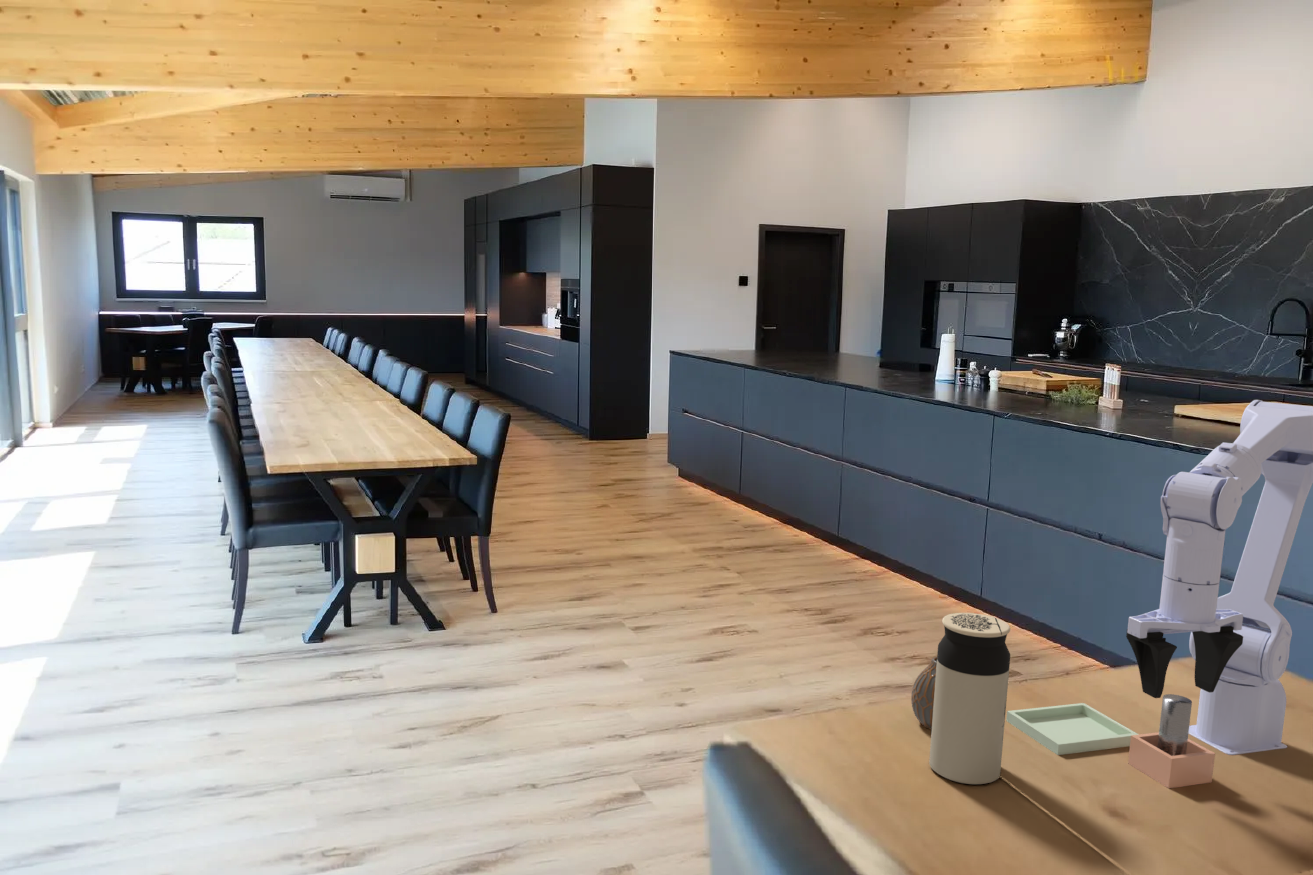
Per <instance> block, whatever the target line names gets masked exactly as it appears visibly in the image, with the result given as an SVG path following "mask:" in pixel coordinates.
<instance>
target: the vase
mask: <svg viewBox="0 0 1313 875" xmlns="http://www.w3.org/2000/svg"><path fill="white" fill-rule="evenodd" d="M936 666H937V656H935V657H932V659H931V661H930V662H929V664H928V665H927V666H926V667H925V668H924V669H923V670H922V671H921V672H920V673H919V674H918V675H917V677H916V679H915V680H914V683H913V685H912V689H911V707H912V711H913V714H914V717H915V718H916V719H917V720H918V721H919V723H920V724H921V725H922V726H923V727H925V728H926V729H929V730H932V719H933V706H934V693H935V679H936Z"/></svg>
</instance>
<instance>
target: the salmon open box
mask: <svg viewBox="0 0 1313 875" xmlns="http://www.w3.org/2000/svg"><path fill="white" fill-rule="evenodd" d="M1138 734H1139V735H1131V740H1130V746H1129V749H1128V750H1129V751H1128V760H1127V764H1128V765H1129V766H1131V767H1133V768H1134V769H1136V770H1138V771H1139V772H1141V773H1143V774H1144V775H1145V776H1147V777H1149V778H1150V779H1152V780H1153V781H1155V782H1157V783H1159V784H1160V785H1162V786H1164V787H1166V789H1175V788H1182V787H1189V786H1190V787H1191V786H1194V785H1195V786H1196V785H1202V784H1209V783H1212V782H1213V776H1214V769H1215V768H1214V767H1215V766H1214V765H1215V759H1216V758H1215V757H1216V753H1215V752H1214V751H1212V750H1210V749H1208V748H1207V747H1205V746H1203V745H1201V744H1199V743H1197V742H1195V741H1194V740H1191V738H1188V742H1187V750H1186V754H1184V755H1176V756H1171V755H1169V754H1167V753H1166V752H1164V751H1162V750H1160V749H1159V748H1157V746H1158V737H1159V731H1157V732H1150V733H1142V734H1141V733H1138Z"/></svg>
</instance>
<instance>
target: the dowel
mask: <svg viewBox="0 0 1313 875" xmlns="http://www.w3.org/2000/svg"><path fill="white" fill-rule="evenodd" d="M1192 705H1193V702H1192V700H1191V699H1190V698H1189V697H1185V696H1184V695H1179V694H1174V693H1173V694H1172V693H1167V694H1164V695H1162V703H1161V713H1160V721H1159V727H1158V728H1159V729H1158V732H1159V737H1158V746H1157V748H1159V749H1160V750H1162V751H1164V752H1166V753H1167V754H1169V755H1171V756H1176V755H1184V754H1186V750H1187V742H1188V739H1189V734H1188V733H1189V726H1190V724H1191V722H1190V721H1191V713H1192Z"/></svg>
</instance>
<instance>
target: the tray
mask: <svg viewBox="0 0 1313 875" xmlns="http://www.w3.org/2000/svg"><path fill="white" fill-rule="evenodd" d="M1005 721H1006V722H1007V723H1008V724H1010V725H1012V726H1013V727H1015V728H1016V729H1017V730H1019V731H1021V732H1022V733H1024V734H1025V735H1027V736H1028V737H1030V738H1031V739H1033V740H1035V742H1037V743H1039V744H1040V745H1042V746H1043V747H1045V748H1046V749H1048V750H1049V751H1051V752H1052V753H1054V754H1055V755H1057V756H1061V755H1069V754H1077V753H1087V752H1093V751H1102V750H1108V749H1117V748H1118V749H1119V748H1126V747H1130V740H1131V735H1139V734H1140V733H1138V732H1135V731H1134V730H1132V729H1131V728H1128V727H1126V726H1125V725H1123V724H1121V723H1119V722H1118V721H1116V720H1114V719H1112V718H1111V717H1109V716H1107V715H1106V714H1104V713H1102V712H1101V711H1099V710H1097V709H1095V708H1093V707H1092V706H1090V705H1088V704H1087V703H1084V702H1078V703H1072V704H1071V703H1070V704H1062V705H1049V706H1041V707H1033V708H1024V709H1023V708H1022V709H1014V710H1006V717H1005Z"/></svg>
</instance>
